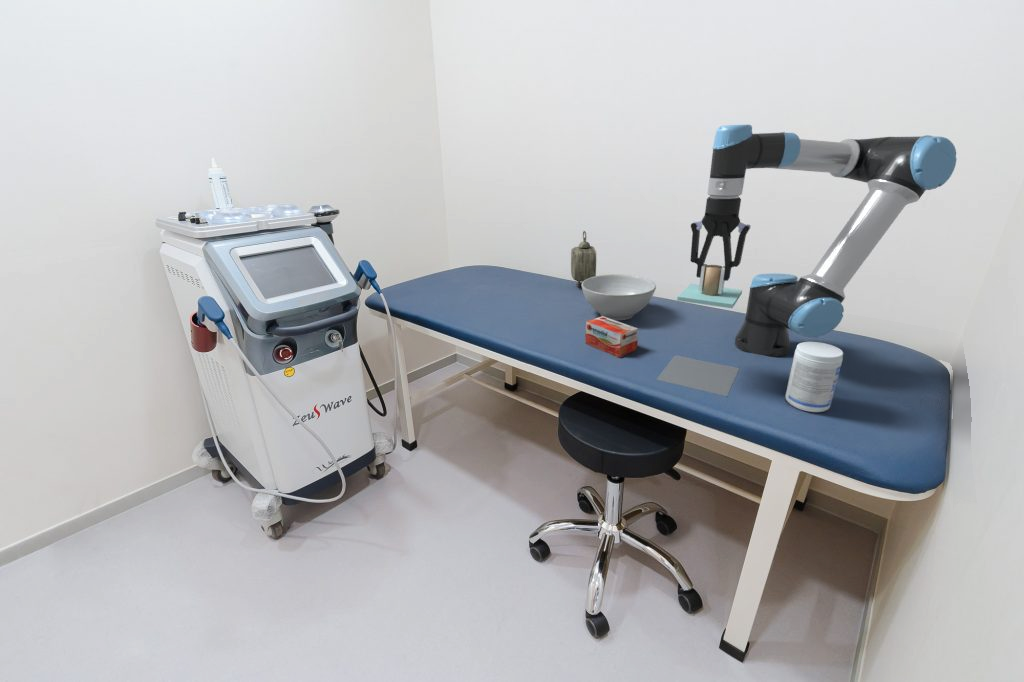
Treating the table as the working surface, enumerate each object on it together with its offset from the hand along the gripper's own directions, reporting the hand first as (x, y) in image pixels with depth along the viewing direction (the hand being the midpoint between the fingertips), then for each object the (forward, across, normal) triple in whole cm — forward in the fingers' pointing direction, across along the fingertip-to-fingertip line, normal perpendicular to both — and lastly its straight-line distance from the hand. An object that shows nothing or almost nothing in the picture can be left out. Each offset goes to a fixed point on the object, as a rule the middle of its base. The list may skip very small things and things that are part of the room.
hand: (710, 290), depth 119 cm
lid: (+2, 0, 0) cm, 2 cm away
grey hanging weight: (+25, -65, +62) cm, 93 cm away
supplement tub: (+25, +26, -2) cm, 36 cm away
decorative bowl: (+25, -38, +35) cm, 57 cm away
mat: (+25, 0, 0) cm, 25 cm away
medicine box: (+25, -29, +6) cm, 39 cm away
